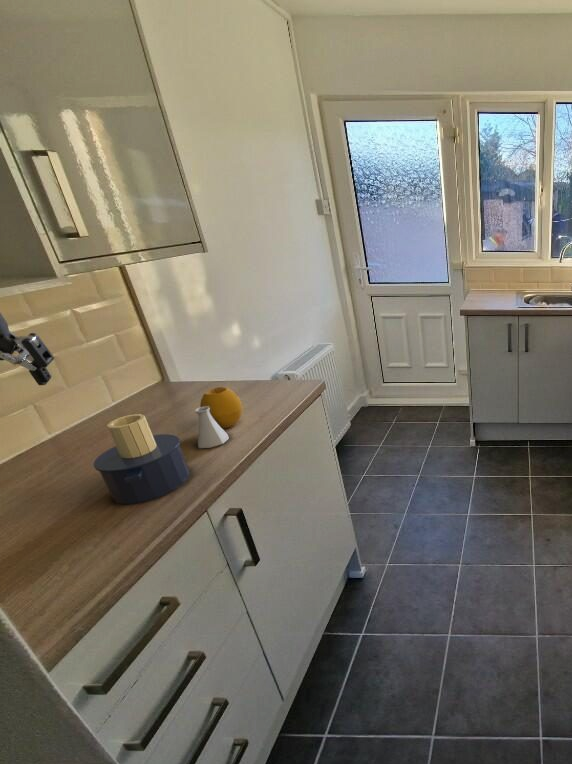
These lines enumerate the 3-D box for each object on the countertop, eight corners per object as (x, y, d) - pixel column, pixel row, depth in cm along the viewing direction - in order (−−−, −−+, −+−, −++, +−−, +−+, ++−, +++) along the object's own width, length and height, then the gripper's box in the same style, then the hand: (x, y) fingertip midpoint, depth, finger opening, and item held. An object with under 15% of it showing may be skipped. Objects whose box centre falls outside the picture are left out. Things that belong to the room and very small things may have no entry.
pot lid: (86, 483, 82) (73, 457, 80) (105, 449, 94) (93, 426, 91) (177, 460, 89) (167, 436, 86) (184, 432, 100) (175, 409, 98)
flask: (194, 451, 107) (181, 417, 103) (201, 438, 113) (189, 405, 109) (226, 445, 109) (215, 412, 105) (232, 432, 116) (221, 400, 112)
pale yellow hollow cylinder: (118, 461, 87) (103, 430, 84) (124, 448, 92) (111, 418, 89) (154, 453, 90) (141, 422, 87) (158, 440, 95) (146, 411, 92)
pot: (102, 520, 84) (85, 485, 80) (123, 473, 99) (109, 442, 95) (185, 497, 90) (172, 464, 87) (193, 456, 105) (181, 426, 102)
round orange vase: (215, 419, 123) (202, 383, 118) (251, 415, 125) (240, 379, 121) (201, 435, 114) (188, 397, 110) (241, 430, 117) (229, 393, 112)
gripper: (29, 297, 73) (74, 370, 83) (-83, 295, 68) (-22, 373, 78) (2, 319, 67) (53, 394, 77) (-122, 318, 63) (-51, 398, 73)
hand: (15, 383), depth 78 cm, fingers open, 8 cm apart
